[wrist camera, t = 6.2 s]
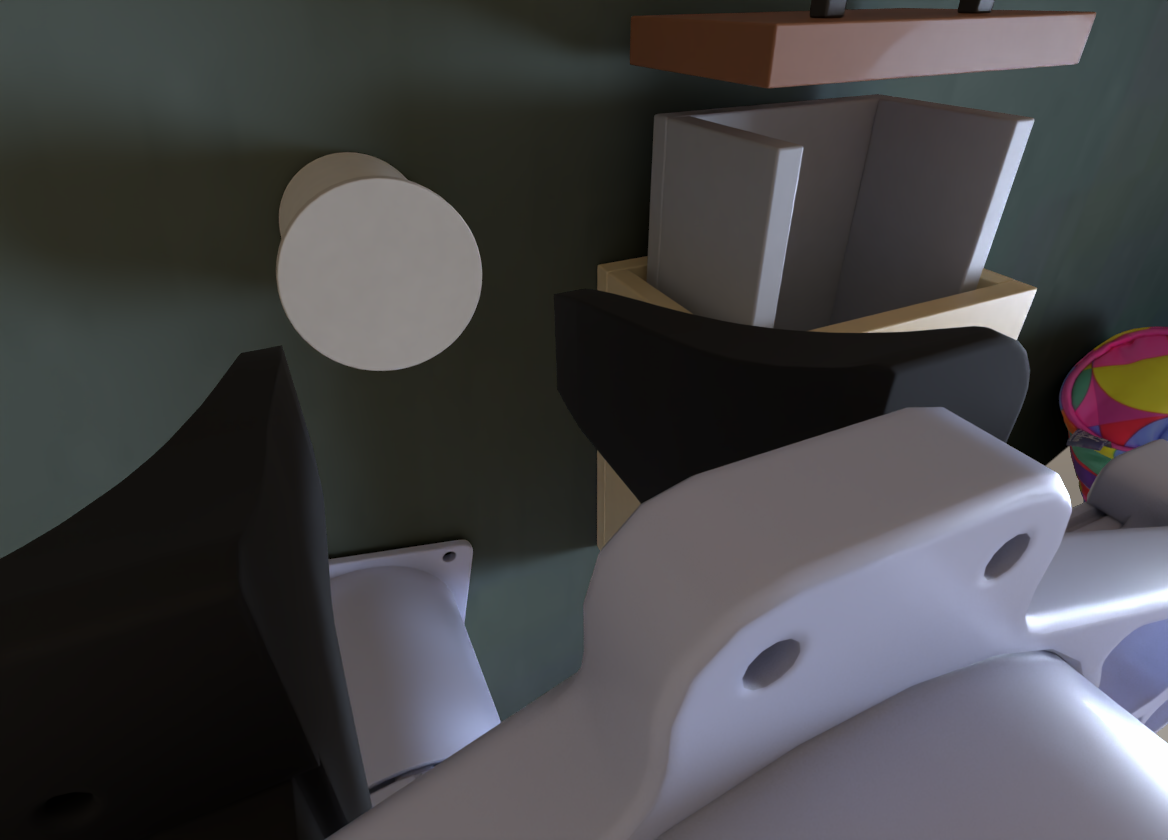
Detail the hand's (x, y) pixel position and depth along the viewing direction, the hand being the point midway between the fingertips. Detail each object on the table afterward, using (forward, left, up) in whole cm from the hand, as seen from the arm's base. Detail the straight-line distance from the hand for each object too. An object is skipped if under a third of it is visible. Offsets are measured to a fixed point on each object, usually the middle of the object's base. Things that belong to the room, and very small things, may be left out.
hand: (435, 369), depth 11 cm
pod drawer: (+13, +4, -9) cm, 16 cm away
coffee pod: (0, 0, -9) cm, 9 cm away
